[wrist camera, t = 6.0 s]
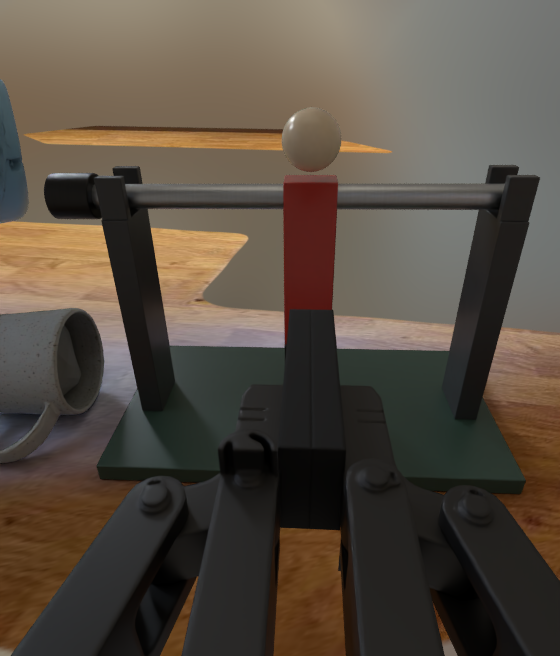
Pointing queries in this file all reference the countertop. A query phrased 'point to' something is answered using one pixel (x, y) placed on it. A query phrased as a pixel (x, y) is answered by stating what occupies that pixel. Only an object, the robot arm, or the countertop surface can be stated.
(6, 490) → the countertop surface
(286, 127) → the foosball rod
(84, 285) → the countertop surface
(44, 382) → the ceramic mug
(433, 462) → the foosball frame
